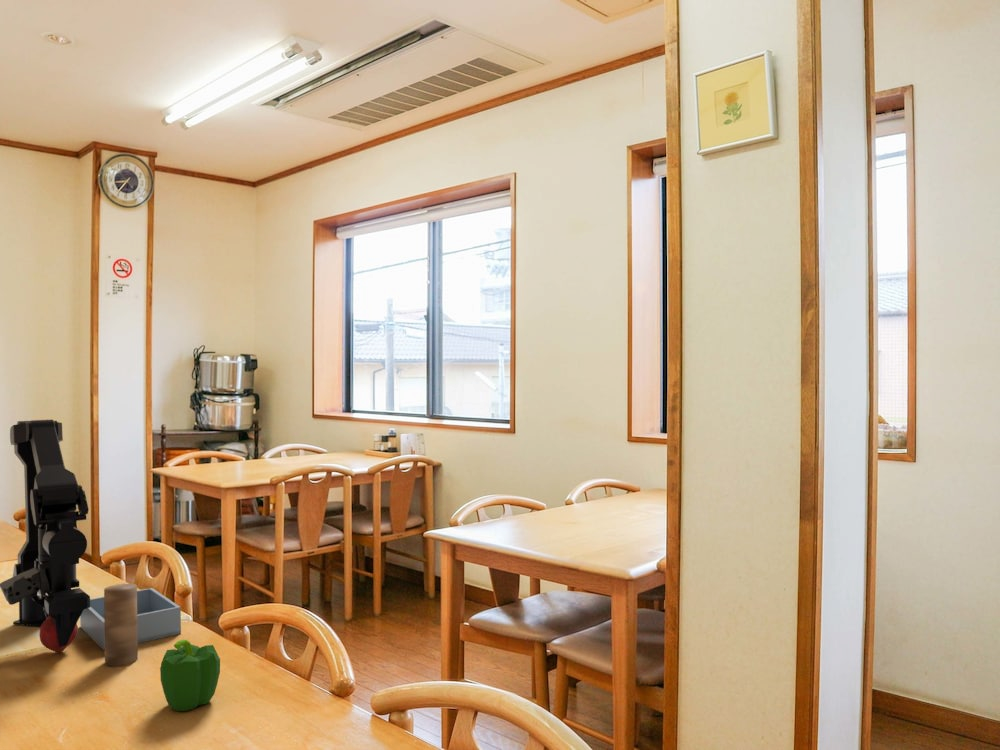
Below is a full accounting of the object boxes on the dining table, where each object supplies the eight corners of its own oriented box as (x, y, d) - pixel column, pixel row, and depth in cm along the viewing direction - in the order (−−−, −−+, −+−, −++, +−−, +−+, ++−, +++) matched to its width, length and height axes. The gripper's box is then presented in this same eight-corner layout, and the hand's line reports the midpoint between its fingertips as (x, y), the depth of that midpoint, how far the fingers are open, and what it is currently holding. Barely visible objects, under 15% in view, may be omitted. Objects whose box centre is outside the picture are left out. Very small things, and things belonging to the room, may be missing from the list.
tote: (80, 626, 150) (80, 600, 150) (152, 612, 159) (152, 587, 159) (104, 650, 137) (103, 622, 137) (180, 633, 146) (180, 607, 146)
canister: (98, 665, 130) (97, 591, 130) (117, 654, 135) (116, 583, 135) (125, 667, 130) (124, 592, 129) (143, 656, 134) (143, 584, 134)
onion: (60, 659, 133) (60, 613, 133) (31, 657, 134) (31, 611, 134) (85, 647, 139) (84, 603, 139) (57, 645, 140) (56, 601, 140)
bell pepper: (201, 687, 121) (200, 623, 121) (230, 701, 116) (229, 634, 116) (147, 706, 115) (146, 638, 114) (176, 722, 109) (175, 651, 109)
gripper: (-6, 550, 138) (-5, 638, 138) (13, 570, 124) (14, 668, 124) (65, 540, 146) (66, 624, 146) (90, 559, 131) (91, 651, 132)
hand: (58, 641), depth 137 cm, fingers closed on onion, 6 cm apart
